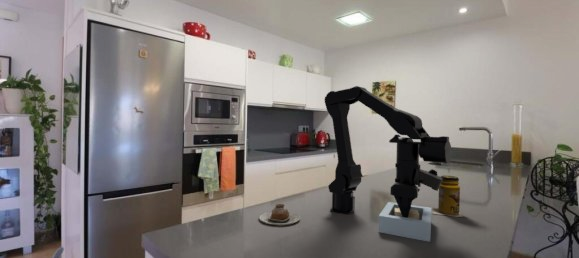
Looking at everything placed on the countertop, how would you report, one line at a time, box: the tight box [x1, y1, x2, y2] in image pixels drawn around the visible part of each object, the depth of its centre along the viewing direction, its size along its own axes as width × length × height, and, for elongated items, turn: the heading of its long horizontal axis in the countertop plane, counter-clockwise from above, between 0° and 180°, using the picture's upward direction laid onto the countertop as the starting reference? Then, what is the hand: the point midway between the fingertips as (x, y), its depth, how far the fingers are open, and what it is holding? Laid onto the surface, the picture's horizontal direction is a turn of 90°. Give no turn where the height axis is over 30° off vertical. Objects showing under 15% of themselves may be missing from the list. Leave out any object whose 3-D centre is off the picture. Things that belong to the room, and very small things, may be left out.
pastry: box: [258, 203, 301, 227], centre depth 81 cm, size 12×12×5 cm
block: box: [394, 208, 419, 220], centre depth 76 cm, size 6×4×2 cm, turn 71°
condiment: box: [429, 175, 464, 218], centre depth 91 cm, size 7×8×12 cm
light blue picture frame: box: [378, 201, 432, 243], centre depth 76 cm, size 12×16×4 cm
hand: (406, 216), depth 76 cm, fingers closed on block, 4 cm apart
